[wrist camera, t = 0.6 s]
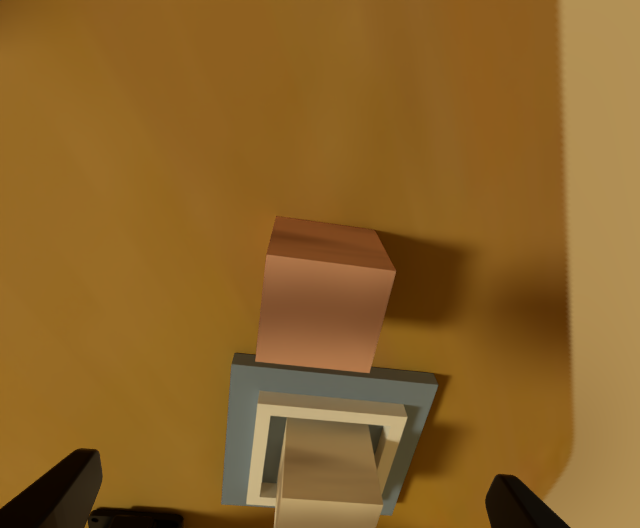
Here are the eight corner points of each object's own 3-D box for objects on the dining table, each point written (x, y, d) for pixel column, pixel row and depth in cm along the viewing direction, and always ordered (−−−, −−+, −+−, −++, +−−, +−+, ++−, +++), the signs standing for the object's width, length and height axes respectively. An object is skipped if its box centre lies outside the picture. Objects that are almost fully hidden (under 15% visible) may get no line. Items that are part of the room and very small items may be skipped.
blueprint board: (388, 501, 27) (394, 530, 26) (224, 490, 26) (218, 519, 24) (433, 373, 23) (444, 397, 21) (234, 352, 22) (228, 376, 20)
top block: (355, 313, 21) (369, 372, 16) (266, 302, 20) (255, 361, 16) (374, 229, 19) (396, 271, 14) (276, 215, 18) (266, 254, 14)
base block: (352, 478, 25) (363, 564, 20) (278, 473, 24) (271, 559, 20) (367, 423, 23) (383, 504, 18) (286, 416, 22) (281, 497, 18)
